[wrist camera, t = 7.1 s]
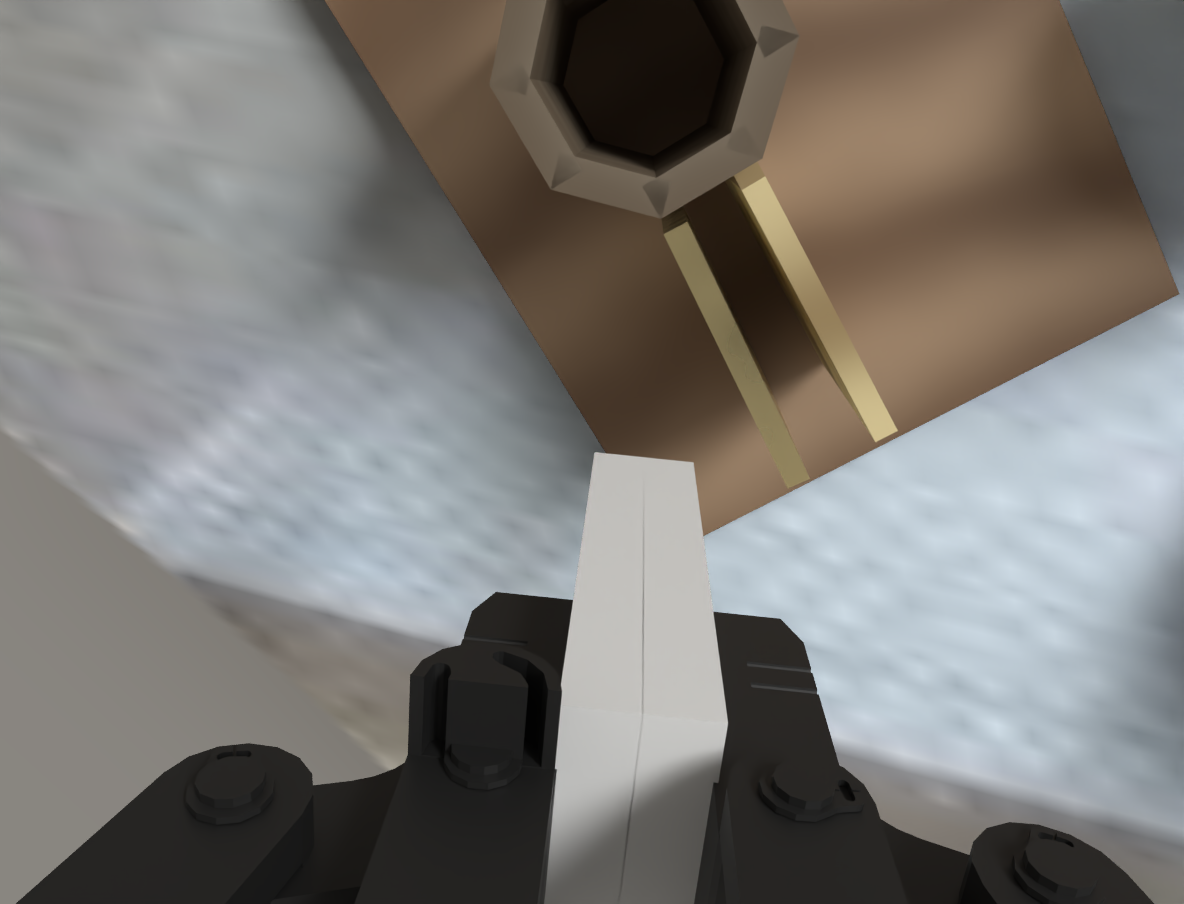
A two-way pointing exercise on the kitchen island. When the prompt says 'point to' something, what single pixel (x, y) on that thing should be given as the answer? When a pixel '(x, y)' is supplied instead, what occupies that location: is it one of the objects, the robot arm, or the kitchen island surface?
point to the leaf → (733, 344)
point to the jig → (775, 205)
